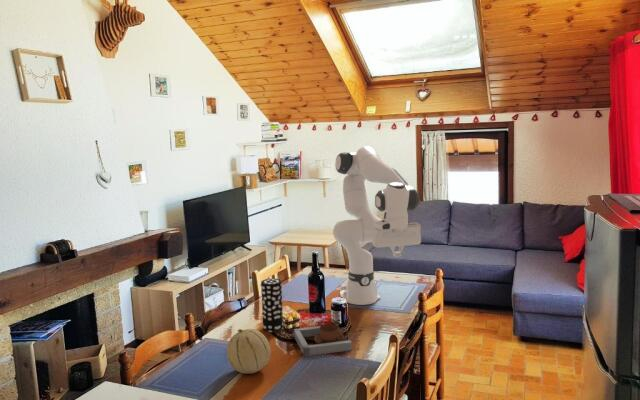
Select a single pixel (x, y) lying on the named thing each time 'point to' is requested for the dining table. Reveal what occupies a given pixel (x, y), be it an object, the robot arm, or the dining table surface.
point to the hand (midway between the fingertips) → (396, 256)
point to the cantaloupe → (248, 351)
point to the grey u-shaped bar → (318, 348)
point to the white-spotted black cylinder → (272, 305)
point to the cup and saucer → (329, 334)
